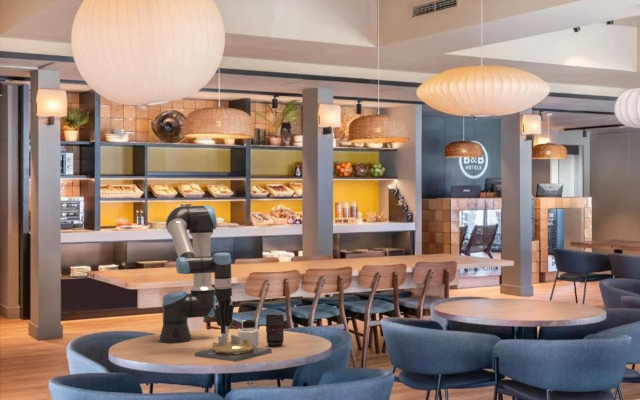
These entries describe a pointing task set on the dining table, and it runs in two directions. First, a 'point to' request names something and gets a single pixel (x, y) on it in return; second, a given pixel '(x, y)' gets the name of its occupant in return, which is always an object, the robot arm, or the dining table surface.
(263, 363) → the dining table surface
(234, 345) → the ring nut
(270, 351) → the base plate
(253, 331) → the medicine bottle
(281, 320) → the camera lens
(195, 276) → the robot arm
